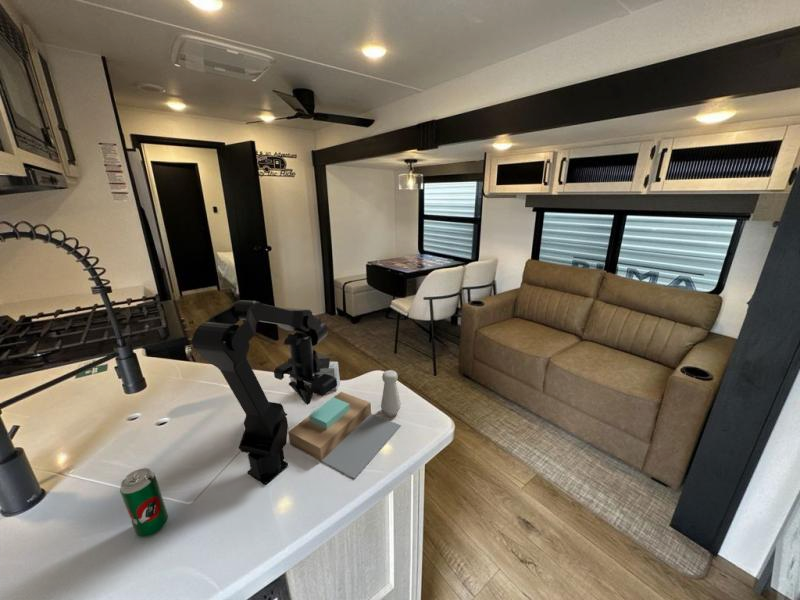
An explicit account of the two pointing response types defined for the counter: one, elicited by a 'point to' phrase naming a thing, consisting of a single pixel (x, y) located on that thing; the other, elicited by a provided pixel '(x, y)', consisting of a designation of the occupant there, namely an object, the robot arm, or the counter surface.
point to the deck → (329, 429)
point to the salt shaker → (390, 394)
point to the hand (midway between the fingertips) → (307, 403)
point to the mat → (361, 445)
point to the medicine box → (331, 373)
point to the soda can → (144, 502)
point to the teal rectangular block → (329, 413)
